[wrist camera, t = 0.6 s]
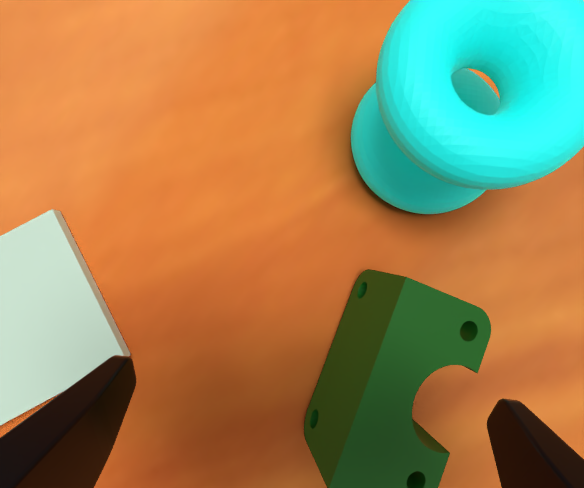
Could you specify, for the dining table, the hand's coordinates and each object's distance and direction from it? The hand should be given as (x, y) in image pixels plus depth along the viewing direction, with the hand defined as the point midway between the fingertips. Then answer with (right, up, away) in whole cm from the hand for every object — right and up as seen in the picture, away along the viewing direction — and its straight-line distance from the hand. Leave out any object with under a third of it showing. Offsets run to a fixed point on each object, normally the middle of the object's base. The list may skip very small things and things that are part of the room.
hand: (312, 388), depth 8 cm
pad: (-19, -2, +15) cm, 24 cm away
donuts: (+8, +10, +16) cm, 21 cm away
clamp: (+5, -5, +15) cm, 16 cm away
